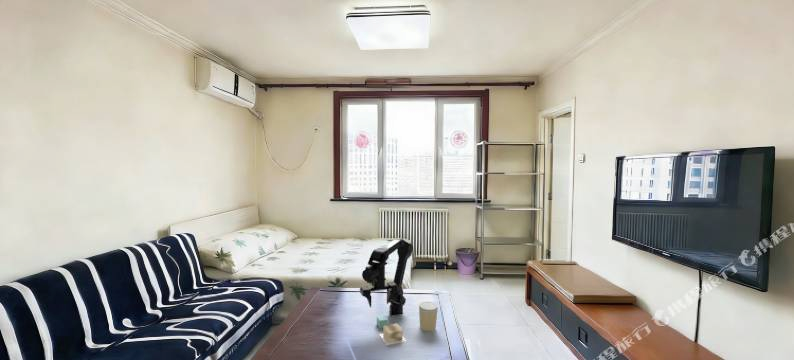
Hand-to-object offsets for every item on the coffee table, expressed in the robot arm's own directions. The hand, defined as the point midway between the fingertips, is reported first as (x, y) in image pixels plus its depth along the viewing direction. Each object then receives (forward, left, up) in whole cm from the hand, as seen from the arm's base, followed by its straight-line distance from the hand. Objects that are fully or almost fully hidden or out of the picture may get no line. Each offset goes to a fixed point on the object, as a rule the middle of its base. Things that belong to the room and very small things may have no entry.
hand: (379, 305), depth 160 cm
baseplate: (-2, +13, -11) cm, 17 cm away
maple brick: (-3, +13, -10) cm, 17 cm away
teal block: (-2, +1, -11) cm, 11 cm away
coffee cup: (-22, +10, -11) cm, 27 cm away
